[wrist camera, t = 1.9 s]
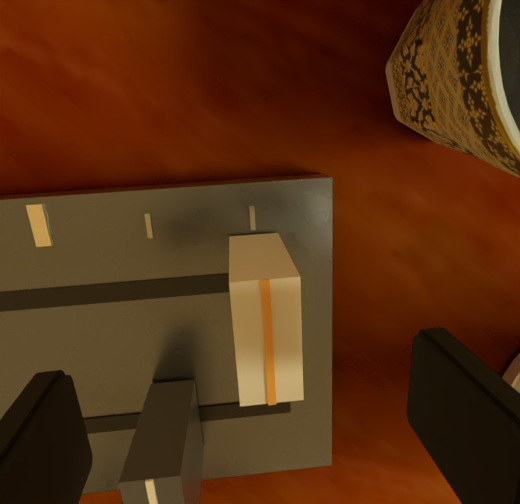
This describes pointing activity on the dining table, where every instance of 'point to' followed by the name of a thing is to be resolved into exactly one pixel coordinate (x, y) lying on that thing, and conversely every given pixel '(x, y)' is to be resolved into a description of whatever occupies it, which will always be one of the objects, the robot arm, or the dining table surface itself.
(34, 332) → the console board
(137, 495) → the fader cap
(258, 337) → the fader cap
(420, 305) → the dining table surface
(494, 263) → the dining table surface
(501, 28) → the ceramic cup
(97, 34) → the dining table surface
